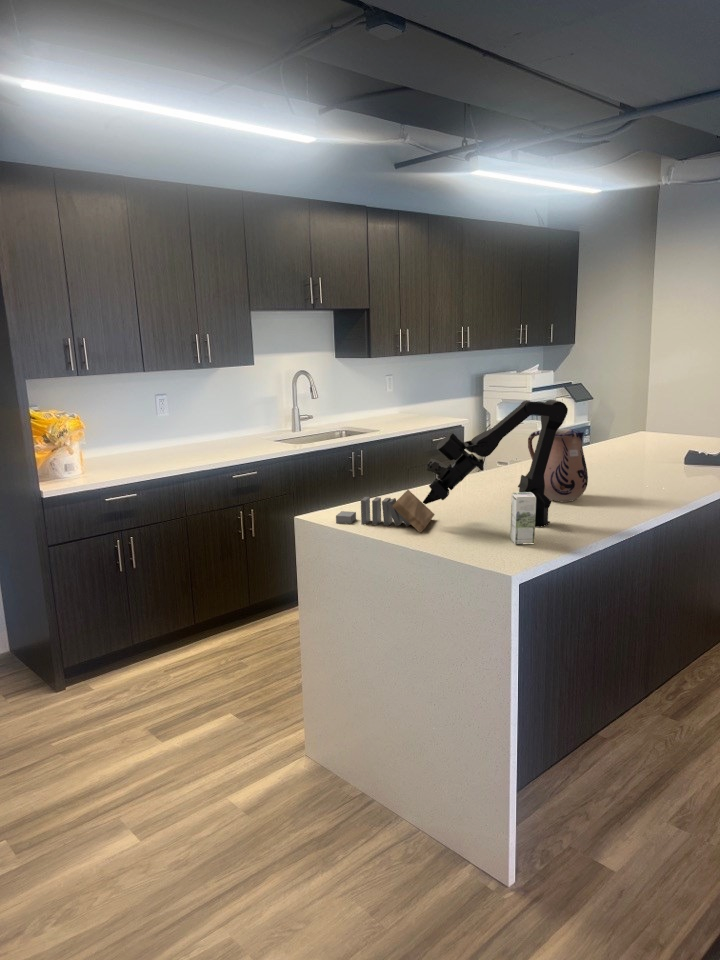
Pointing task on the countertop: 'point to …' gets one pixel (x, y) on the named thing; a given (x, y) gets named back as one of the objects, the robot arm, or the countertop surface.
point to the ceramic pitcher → (564, 466)
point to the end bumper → (345, 517)
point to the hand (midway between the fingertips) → (424, 502)
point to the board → (413, 510)
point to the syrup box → (523, 517)
